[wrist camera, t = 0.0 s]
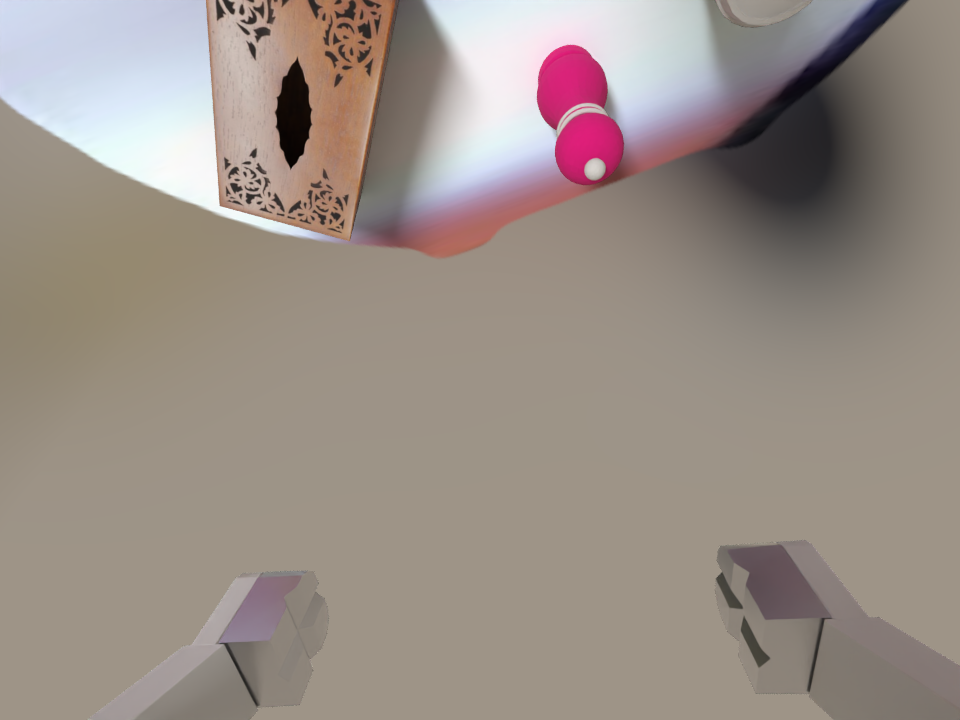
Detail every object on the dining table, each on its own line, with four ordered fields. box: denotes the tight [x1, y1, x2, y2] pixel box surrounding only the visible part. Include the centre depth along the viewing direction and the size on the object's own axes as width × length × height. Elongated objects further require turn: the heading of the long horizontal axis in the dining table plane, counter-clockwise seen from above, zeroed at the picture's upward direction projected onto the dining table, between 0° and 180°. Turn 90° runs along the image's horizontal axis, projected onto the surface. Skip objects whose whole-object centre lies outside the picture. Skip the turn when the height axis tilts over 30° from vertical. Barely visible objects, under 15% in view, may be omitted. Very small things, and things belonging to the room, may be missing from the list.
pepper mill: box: [537, 45, 624, 185], centre depth 46 cm, size 7×7×20 cm
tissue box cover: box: [206, 0, 399, 241], centre depth 49 cm, size 26×14×10 cm, turn 160°
